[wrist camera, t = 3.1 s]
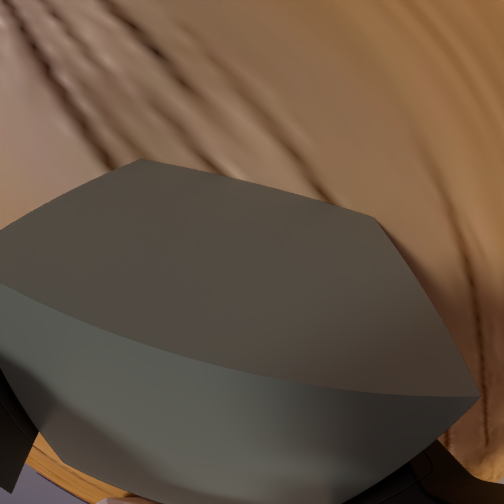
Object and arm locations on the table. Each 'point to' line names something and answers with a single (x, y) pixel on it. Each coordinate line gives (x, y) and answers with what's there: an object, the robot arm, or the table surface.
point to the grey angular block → (222, 340)
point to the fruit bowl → (128, 501)
